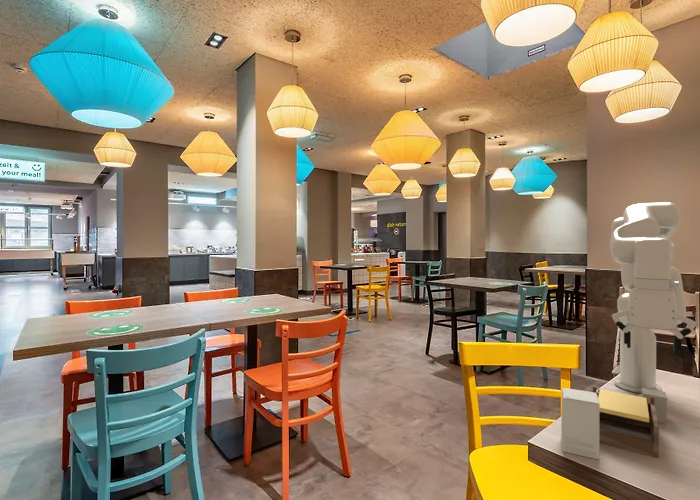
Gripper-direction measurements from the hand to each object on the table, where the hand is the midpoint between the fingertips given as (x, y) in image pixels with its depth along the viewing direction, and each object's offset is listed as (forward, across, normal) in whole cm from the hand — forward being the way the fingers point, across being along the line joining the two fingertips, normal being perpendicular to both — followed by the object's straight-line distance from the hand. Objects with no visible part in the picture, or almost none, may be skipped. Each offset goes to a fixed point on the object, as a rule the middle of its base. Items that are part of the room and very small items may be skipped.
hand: (651, 349), depth 98 cm
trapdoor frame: (+20, +6, +11) cm, 23 cm away
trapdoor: (+13, +6, +10) cm, 18 cm away
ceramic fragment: (+21, +1, -16) cm, 26 cm away
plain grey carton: (+20, -1, -5) cm, 21 cm away
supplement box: (+20, +14, +25) cm, 35 cm away
